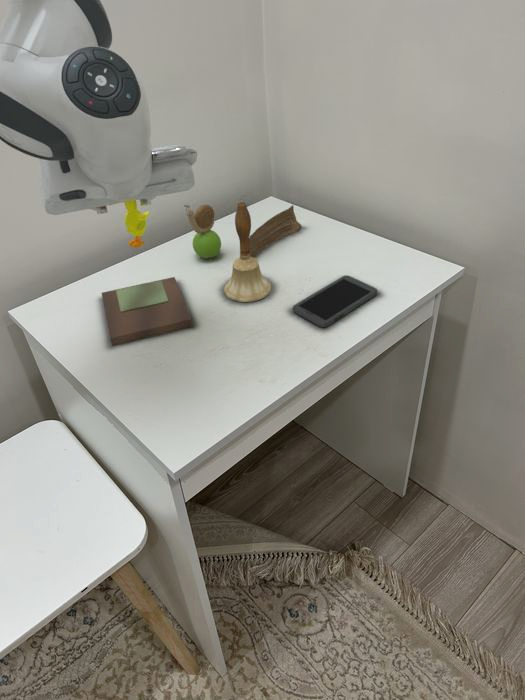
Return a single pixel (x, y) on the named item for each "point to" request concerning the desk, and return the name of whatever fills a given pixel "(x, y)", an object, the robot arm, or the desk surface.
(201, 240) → the snail figurine
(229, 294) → the hand bell
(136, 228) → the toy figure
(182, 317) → the board
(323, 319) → the cell phone
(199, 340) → the desk surface
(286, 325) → the desk surface
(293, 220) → the wood plank
